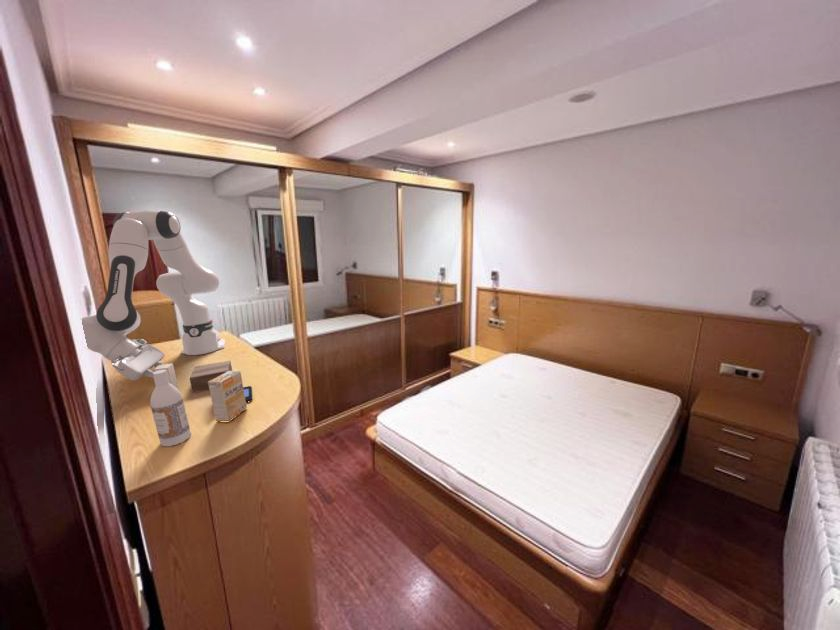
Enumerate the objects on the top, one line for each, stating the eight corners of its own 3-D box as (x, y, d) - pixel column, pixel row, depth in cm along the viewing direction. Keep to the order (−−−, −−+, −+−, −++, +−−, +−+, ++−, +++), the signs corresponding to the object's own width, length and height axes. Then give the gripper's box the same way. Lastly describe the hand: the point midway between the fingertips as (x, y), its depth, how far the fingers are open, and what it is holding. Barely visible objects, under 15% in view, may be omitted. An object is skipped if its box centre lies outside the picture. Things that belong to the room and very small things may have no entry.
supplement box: (229, 423, 102) (221, 382, 99) (215, 422, 103) (206, 381, 100) (248, 409, 110) (241, 370, 106) (235, 408, 110) (227, 370, 107)
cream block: (164, 387, 129) (158, 365, 127) (178, 385, 130) (172, 363, 128) (159, 392, 125) (153, 369, 123) (173, 390, 126) (167, 367, 124)
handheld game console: (252, 402, 114) (249, 381, 113) (215, 411, 110) (210, 389, 108) (252, 388, 125) (248, 368, 124) (218, 395, 121) (214, 375, 119)
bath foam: (154, 446, 92) (135, 377, 87) (175, 432, 99) (159, 366, 94) (176, 448, 91) (159, 377, 86) (197, 433, 97) (181, 366, 93)
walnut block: (198, 381, 134) (195, 366, 133) (233, 374, 139) (230, 360, 137) (193, 393, 123) (189, 378, 122) (230, 386, 128) (227, 371, 127)
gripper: (114, 355, 111) (156, 379, 116) (145, 337, 131) (180, 358, 135) (101, 370, 111) (144, 393, 116) (134, 350, 131) (169, 370, 135)
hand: (163, 374), depth 126 cm, fingers closed on cream block, 4 cm apart
